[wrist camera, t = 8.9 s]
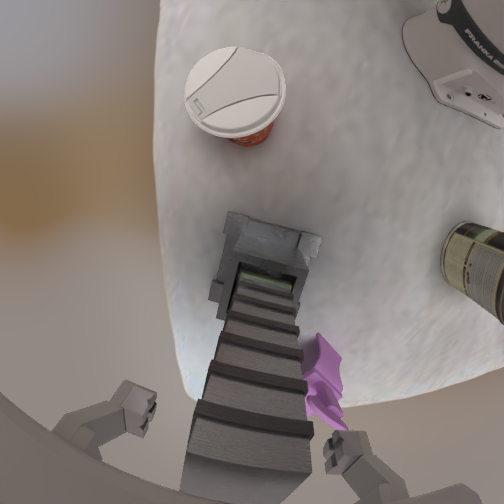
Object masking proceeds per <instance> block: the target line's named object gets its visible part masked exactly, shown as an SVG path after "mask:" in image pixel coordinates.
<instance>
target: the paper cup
mask: <svg viewBox="0 0 504 504" xmlns="http://www.w3.org/2000/svg"><path fill="white" fill-rule="evenodd" d="M285 98H286V83H285V79H284V74H283V70H282V69H281V67H280V66H279V64H278V63H277V62H276V61H275V60H274V59H272V58H271V57H270V56H268V55H266V54H263V53H260V52H257V51H254V50H251V49H247V48H242V47H237V46H234V47H225V48H221V49H218V50H215V51H213V52H211V53H209V54H207V55H206V56H204V57H203V58H202V59H200V60H199V61H198V62H197V63H196V64H195V66H194V67H193V68H192V70H191V71H190V73H189V75H188V78H187V80H186V85H185V89H184V103H185V107H186V110H187V113H188V115H189V116H190V118H191V119H192V120H193V122H194V123H195V124H196V125H197V126H198V127H200V128H201V129H202V130H204V131H206V132H207V133H210V134H212V135H215V136H219V137H225V138H227V139H229V140H230V141H232V142H234V143H236V144H239V145H243V146H253V145H256V144H259V143H261V142H262V141H264V140H265V139H266V138H267V136H268V135H269V133H270V131H271V129H272V126H273V123H274V120H275V118H276V117H277V116H278V114H279V113H280V111H281V109H282V107H283V105H284V102H285Z"/></svg>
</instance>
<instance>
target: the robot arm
mask: <svg viewBox="0 0 504 504" xmlns="http://www.w3.org/2000/svg"><path fill="white" fill-rule="evenodd" d="M403 40H404V44H405V47H406V49H407V52H408V54H409V55H410V57H411V59H412V61H413V62H414V64H415V65H416V66H417V68H418V69H419V70H420V72H421V73H422V74H423V75H424V76H425V78H426V79H427V81H428V82H429V85H430V87H431V90H432V92H433V94H434V96H435V98H436V99H437V101H439V102H440V103H442V104H444V105H447V106H449V107H452V108H454V109H457V110H459V111H461V112H464V113H466V114H468V115H470V116H473V117H475V118H477V119H479V120H481V121H483V122H485V123H487V124H489V125H491V126H493V127H495V128H497V129H501V128H503V127H504V0H439V2H438V3H437V5H436V6H435V7H433V8H431V9H430V10H428V11H426V12H425V13H423V14H421V15H418V16H416V17H412V18H410V19H408V20H407V21H406V22H405V24H404V27H403ZM447 96H448V98H449V99H448V98H447ZM156 398H157V392H155V391H152V390H150V389H147V388H145V387H143V386H140V385H138V384H135V383H133V382H130V381H128V380H124V381H123V382H122V384H121V385H120V386H119V388H118V389H117V391H116V392H115V394H114V395H113V397H112V398H111V400H110V401H109V402H108V401H104V402H101V403H98V404H95V405H92V406H89V407H86V408H83V409H80V410H77V411H73V412H70V413H67V414H65V415H64V416H63V417H62V418H61V420H60V421H59V422H58V423H57V425H56V426H55V427H54V429H53V430H52V431H49V430H48V429H46V428H45V427H43V426H42V425H41V424H39V423H38V422H36V421H35V420H34V419H32V418H31V417H30V416H28V415H27V414H26V413H25V412H23V411H22V410H21V409H20V408H18V407H17V406H16V405H15V404H14V403H12V402H11V401H10V400H9V399H8V398H6V397H5V396H4V395H3V394H2V393H1V392H0V504H234V503H228V502H222V501H217V500H212V499H208V498H203V497H199V496H195V495H191V494H188V493H184V492H180V491H177V490H174V489H170V488H167V487H164V486H161V485H158V484H155V483H152V482H149V481H147V480H144V479H141V478H139V477H136V476H134V475H131V474H129V473H127V472H124V471H122V470H119V469H118V468H115V467H113V466H111V465H109V464H107V463H105V462H103V461H102V457H101V454H100V451H99V448H98V447H99V446H101V445H103V444H105V443H107V442H109V441H111V440H113V439H115V438H117V437H118V436H120V435H122V434H124V433H126V432H128V433H131V434H133V435H136V436H139V437H142V438H144V436H145V434H146V432H147V430H148V423H149V422H151V421H152V419H153V417H154V414H155V411H156V405H157V404H156V402H155V400H156ZM323 455H324V457H325V458H326V459H327V461H326V462H325V470H326V474H342V476H343V477H344V479H345V480H346V482H347V483H348V484H349V485H350V487H351V488H352V489H353V490H354V491H355V493H356V494H357V495H358V497H359V498H360V500H359V501H357V502H356V503H355V504H482V502H481V499H480V497H479V495H478V494H477V493H476V492H475V491H473V490H472V489H470V488H469V487H468V486H466V485H464V484H462V483H458V484H454V485H452V486H449V487H446V488H443V489H440V490H437V491H434V492H430V493H427V494H423V495H419V496H416V497H412V498H410V497H409V494H408V491H407V488H406V484H405V481H404V480H403V479H402V478H401V477H400V476H399V475H398V474H396V473H395V472H394V471H393V470H392V469H391V468H390V467H388V466H387V465H386V464H385V463H384V462H383V461H382V460H380V459H379V458H378V457H377V456H376V455H373V453H372V449H371V446H370V443H369V439H368V436H367V433H366V432H365V431H355V430H335V431H334V432H333V433H332V438H330V439H328V440H327V442H326V443H325V445H324V448H323Z"/></svg>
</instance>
